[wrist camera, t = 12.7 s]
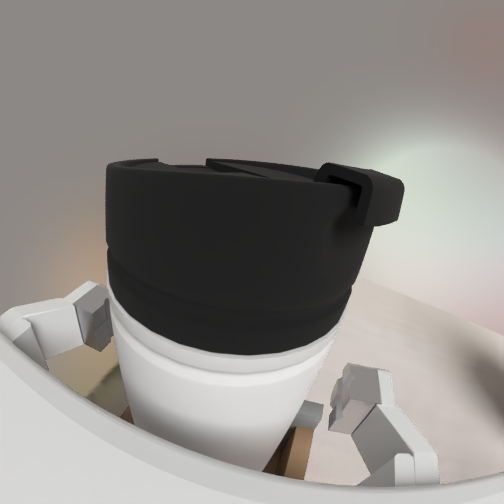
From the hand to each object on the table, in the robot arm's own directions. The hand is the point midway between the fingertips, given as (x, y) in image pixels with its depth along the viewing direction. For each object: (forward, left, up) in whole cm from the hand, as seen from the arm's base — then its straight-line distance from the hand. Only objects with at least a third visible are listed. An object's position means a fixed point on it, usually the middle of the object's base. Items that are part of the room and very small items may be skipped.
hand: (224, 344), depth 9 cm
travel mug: (-1, 0, -14) cm, 14 cm away
